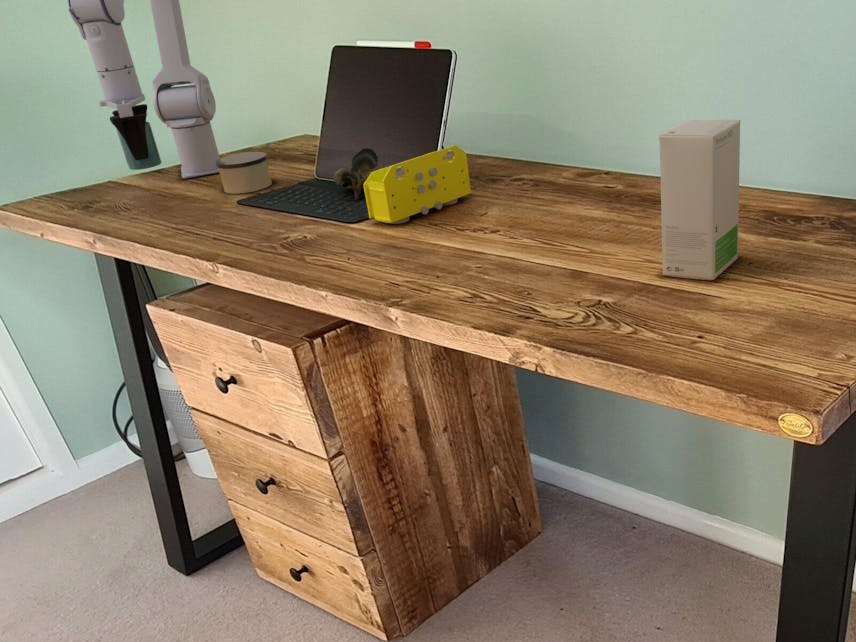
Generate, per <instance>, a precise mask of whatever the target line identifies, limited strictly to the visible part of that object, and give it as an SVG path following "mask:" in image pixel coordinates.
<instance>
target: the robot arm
mask: <svg viewBox="0 0 856 642" xmlns="http://www.w3.org/2000/svg"><path fill="white" fill-rule="evenodd" d="M124 3H125V0H67V5H68V8H67V9H68V12H69V15H70V17H71V18H72V20H73V22H74V24H75V25H77V28H78V30H79V33H80V36H81V37H82V40H85V41H86V43H87V45H88V49H89V52H90V56H91V58H92V62H93V64H94V67H95V71H96V73H97V77H98V79H99V83H100V86H101V90H102V92H103V95H104V99H101V100H99V101H98V105H99V107H108V108H111V109H115V110H113V111H112V112H111V114H112V116H110V117H109V121H110V123H111V124H112V125H113V126H114V127H115V129H116V128H117V129H118V131H119V132H120V133H121V135H122V136H123V138H124V140H125V142H126V144H127V146H128V148H129V150H130V151H131V153H132V155H133V157H134V158H135V160H142V159H148V146H147V139H146V131H145V124H146V122H147V117H148V116H147V115H148V104H146V103H143V104H141V103H142V102H144V101H145V100H146V97H145V94H143V91H142V88H141V84H140V81H139V77H138V75H137V70H136V67H135V63H134V61H133V58H132V55H131V51H130V48H129V44H128V41H127V38H126V35H125V31H124V27H123V24H122V22H123V21H124V20H125V15H126V14H125V6H124ZM149 3H150V8H151V9H150V10H151V14H152V18H153V19H152V20H153V24H154V30H155V35H156V41H157V45H158V51H159V58H160V62H161V69H160V70H159V72H158V73H157V74H156V76H154V78H153V79H152V81H151V82H152V91H153V94H152V105H153V109H154V112H155V114H156V116H157V118H158V119H159V120H160V121H161V123H163V124H165V125H166V128H170V130H171V133H172V136H173V137H172V138H173V140H174V144H175V147H176V150H177V154H178V159H179V161H180V164H181V167H180V170H181V171H180V172H181V178H182V179H183V180H184V179H185V180H186V179H192V178H197V177H203V176H207V175H208V176H209V175H214V174H220V173H219V170H218V167H217V166H216V161H217V160H218V159H220V158H221V157H220V153H219V150H218V146H217V142H216V139H215V134H214V131H213V127H212V124H211V121H212V120H214V117H215V115H216V112H217V111H216V110H217V105H216V99H215V96H214V92H213V91H212V88H211V85H210V80H209V77H207V75H205V74H204V73H203V72H201V71H199V70H198V69H196V68H195V67H193V66H192V65H191V60H190V55H189V54H190V53H189V49H188V43H187V38H186V32H185V26H184V20H183V14H182V9H181V4H180V3H181V2H180V0H149Z"/></svg>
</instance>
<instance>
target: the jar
mask: <svg viewBox="0 0 856 642" xmlns="http://www.w3.org/2000/svg"><path fill="white" fill-rule="evenodd" d="M216 166H217V167H218V170H219V173H218V174H219V176H220V177H219V178H220V181H221V184H222V188H223V191H224V193H226V194H233V195H234V194H235V195H236V194H247V193H252V192H258V191H260V190H263V189H266V188H268V187H270V186H272V184H273V180H272V176H271V171H270V168H269V163H268V155H267V153H266V152H264V151H246V152H245V151H244V152H239V153H234V154H229V155H226V156H223V157H220V159H218V160H217V161H216Z"/></svg>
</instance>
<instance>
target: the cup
mask: <svg viewBox="0 0 856 642" xmlns="http://www.w3.org/2000/svg"><path fill="white" fill-rule="evenodd" d="M115 129H116V133H117V136H118V139H119V142H120V146H121V148H122V151H123V155H124V157H125V158H124V159H125V161H126V163H127V166H128V169H129V170H133V171H139V170H146V169H151V168H154V167H158V166H160V165H161V164H162V159H161V156H160V153H159V149H158V146H157V141H156V138H155V136H154V132H153V129H152V125H151V123H150V122H149V121H146V124H145V131H146V139H147V146H148V159H142V160H135V158H134V157H133V155H132V153H131V151H130V150H129V148H128V146H127V144H126V142H125V140H124V138H123V136H122V135H121V133H120V132H119V131H118V129H117V128H116V127H115Z"/></svg>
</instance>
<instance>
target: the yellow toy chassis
mask: <svg viewBox="0 0 856 642" xmlns="http://www.w3.org/2000/svg"><path fill="white" fill-rule="evenodd" d="M470 181H471V180H470V174H469V165H468V158H467V152H465V150H463V148H461V147H459V146H457V145H456V144H453V145H451V146H448V147H445V148H441V149H439V150H436V151H435V150H434V151H432V152H429V153H426V154H423V155H420V156H419V155H418V156H417V157H413V158H410V159H407V160H404V161H402V162H398V163H395V164H392V165H389V166H386V167H382V168H380V169H377V170H373V172H371V174H370V175H369V177H368V178H367V180H366V181H365V183H364V184H363V186H364V188H363V192H364V196H365V201H366V207H367V213H368V218H369V219H370V220H371V219H374V220H376V222H382V223H386V224H391V225H399V224H404V223H407V222H409V221H410V217H411V216H414V215H416V214H419V213H421V214H422V215H425V216H426V215H428V214H429V211H430V210H429V209H432V208H435V209H436V210H441V209H442V207H443V206H451V205H454V204H457V203H458V202H459V201H458V199H459V198H462V197H464V196H467V195H470V194H472V190H471V183H470Z"/></svg>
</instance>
